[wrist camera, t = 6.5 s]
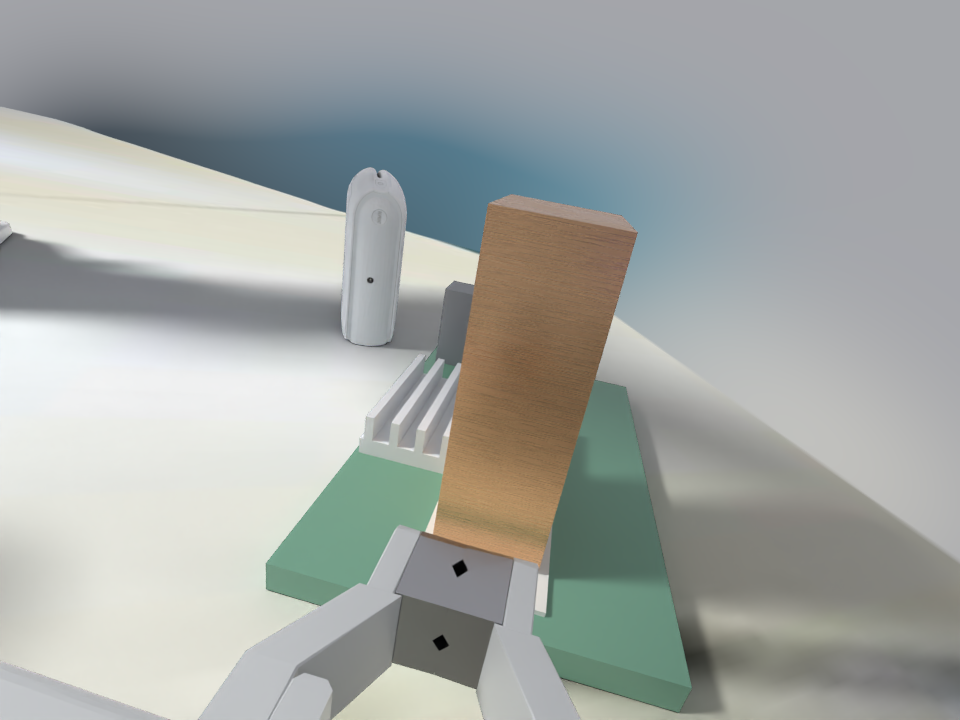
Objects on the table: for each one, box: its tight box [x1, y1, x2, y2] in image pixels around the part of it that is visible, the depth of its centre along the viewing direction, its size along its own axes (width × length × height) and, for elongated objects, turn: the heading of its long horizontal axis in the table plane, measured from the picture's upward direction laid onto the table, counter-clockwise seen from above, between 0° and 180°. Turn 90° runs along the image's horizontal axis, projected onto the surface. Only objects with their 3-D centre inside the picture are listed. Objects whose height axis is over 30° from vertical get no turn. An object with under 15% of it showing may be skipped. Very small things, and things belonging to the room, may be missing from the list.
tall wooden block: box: [433, 194, 638, 568], centre depth 20 cm, size 10×4×12 cm, turn 169°
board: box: [266, 281, 692, 713], centre depth 25 cm, size 22×14×6 cm, turn 169°
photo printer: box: [341, 168, 407, 346], centre depth 39 cm, size 10×4×12 cm, turn 14°
